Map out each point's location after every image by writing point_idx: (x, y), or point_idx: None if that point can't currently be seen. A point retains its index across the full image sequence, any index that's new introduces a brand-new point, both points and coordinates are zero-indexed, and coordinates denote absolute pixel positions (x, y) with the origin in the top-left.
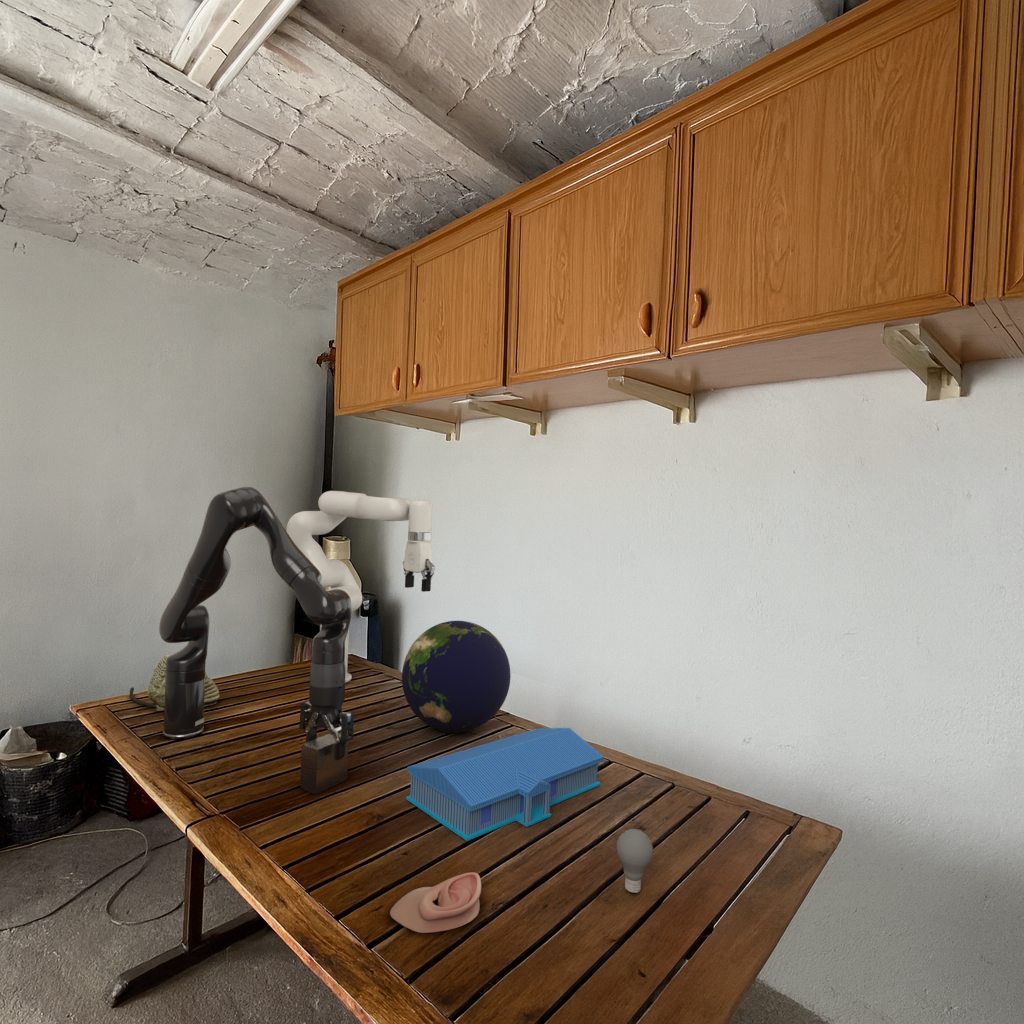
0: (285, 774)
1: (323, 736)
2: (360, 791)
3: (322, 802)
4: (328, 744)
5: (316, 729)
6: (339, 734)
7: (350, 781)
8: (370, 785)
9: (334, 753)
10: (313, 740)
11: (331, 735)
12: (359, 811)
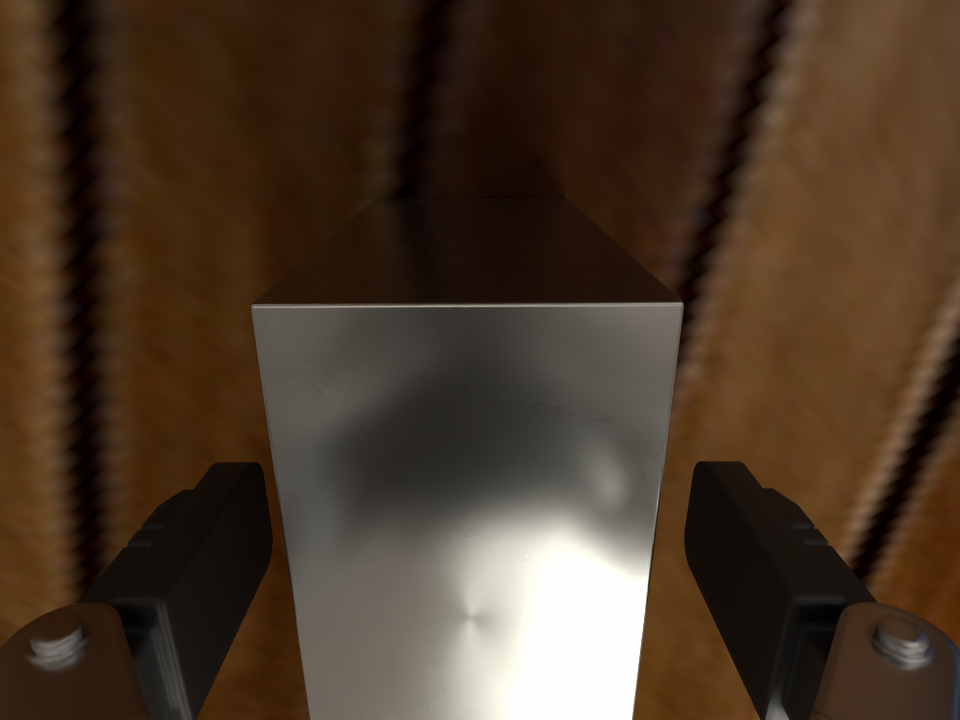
0: (118, 417)
1: (308, 539)
2: (797, 292)
3: (663, 537)
4: (617, 682)
5: (126, 646)
6: (448, 325)
7: (616, 210)
8: (812, 164)
9: (712, 609)
10: (334, 704)
11: (372, 440)
12: (948, 492)
